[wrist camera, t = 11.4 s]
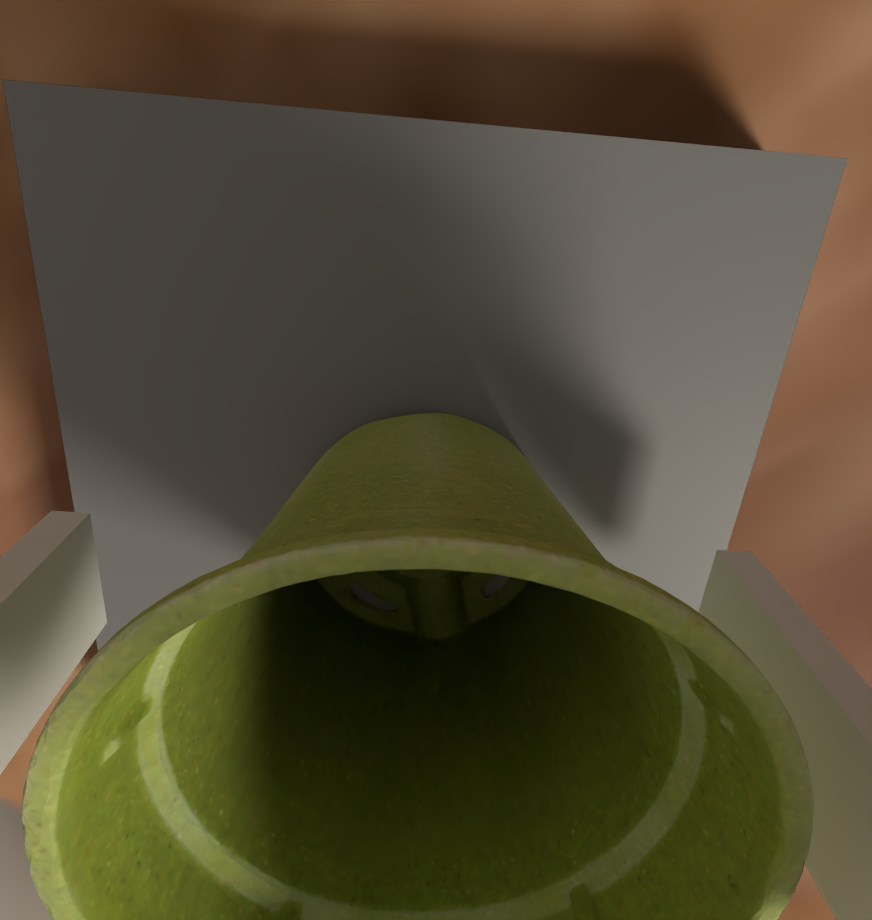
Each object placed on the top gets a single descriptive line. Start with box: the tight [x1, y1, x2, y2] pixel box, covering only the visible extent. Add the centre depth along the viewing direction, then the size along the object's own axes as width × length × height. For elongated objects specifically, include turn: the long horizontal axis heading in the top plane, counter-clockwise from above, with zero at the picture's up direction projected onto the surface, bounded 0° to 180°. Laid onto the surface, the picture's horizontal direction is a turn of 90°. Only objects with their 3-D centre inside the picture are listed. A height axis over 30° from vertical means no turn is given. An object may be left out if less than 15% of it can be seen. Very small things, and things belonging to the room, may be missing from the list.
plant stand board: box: [3, 80, 847, 651], centre depth 17 cm, size 18×16×3 cm
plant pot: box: [22, 413, 814, 920], centre depth 12 cm, size 9×9×9 cm
